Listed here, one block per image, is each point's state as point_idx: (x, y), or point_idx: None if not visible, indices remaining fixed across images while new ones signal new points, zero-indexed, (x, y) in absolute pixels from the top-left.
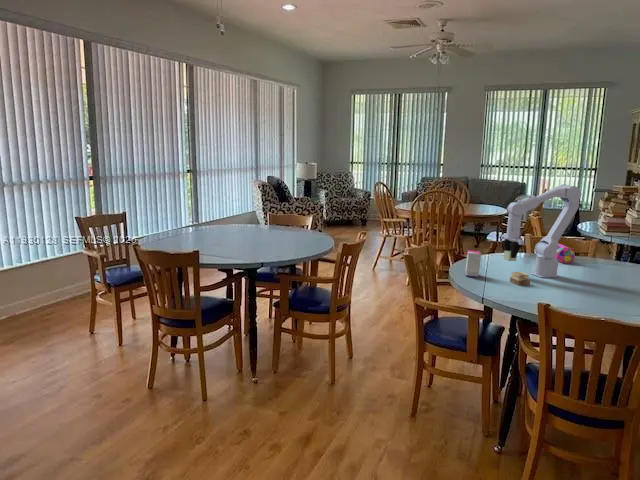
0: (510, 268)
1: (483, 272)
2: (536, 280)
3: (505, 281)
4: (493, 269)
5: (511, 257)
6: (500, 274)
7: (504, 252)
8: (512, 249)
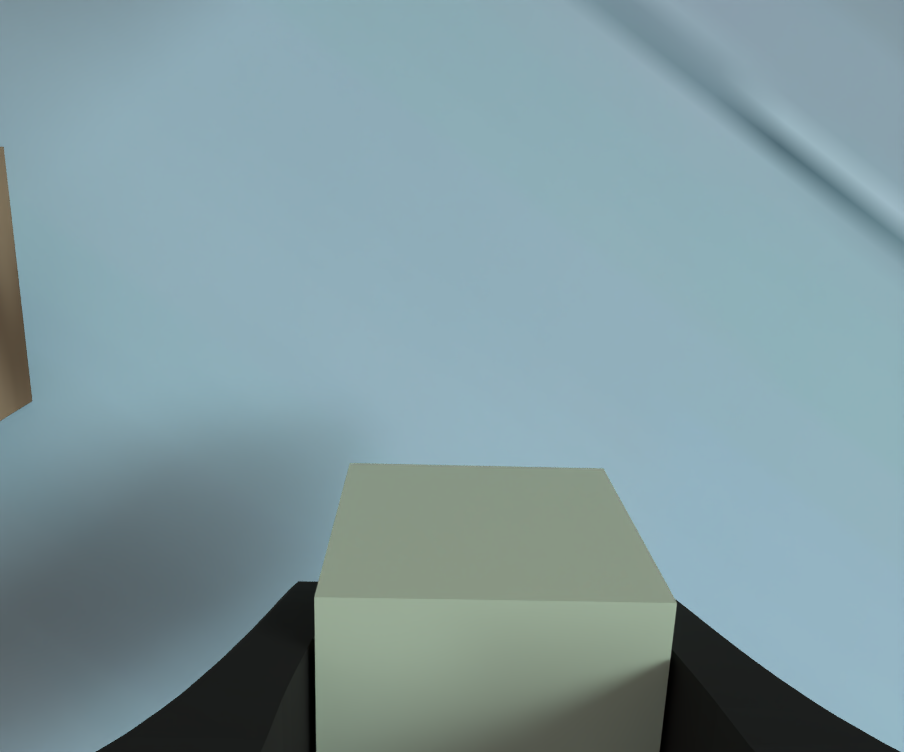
0: None
1: (724, 24)
2: (55, 683)
3: (22, 64)
4: (856, 391)
5: None
6: (509, 299)
7: (647, 569)
8: (131, 738)
